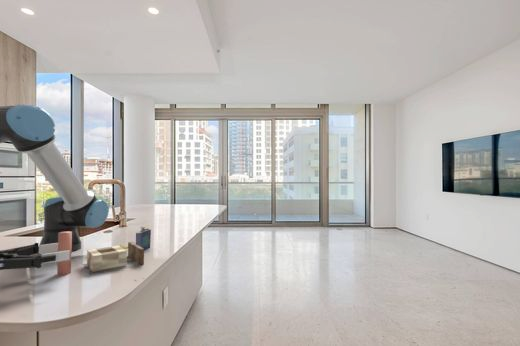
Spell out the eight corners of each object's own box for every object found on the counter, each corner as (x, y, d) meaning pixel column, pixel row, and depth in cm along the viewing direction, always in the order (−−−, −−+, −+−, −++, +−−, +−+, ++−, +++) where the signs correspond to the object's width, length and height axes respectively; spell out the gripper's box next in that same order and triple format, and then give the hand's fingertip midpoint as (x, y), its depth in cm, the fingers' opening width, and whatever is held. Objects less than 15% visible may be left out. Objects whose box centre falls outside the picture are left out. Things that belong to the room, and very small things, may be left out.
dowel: (56, 276, 85) (57, 232, 85) (69, 273, 87) (71, 230, 88) (57, 279, 82) (59, 233, 83) (71, 276, 85) (72, 232, 85)
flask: (139, 254, 110) (140, 228, 110) (132, 254, 110) (133, 228, 111) (151, 249, 119) (152, 225, 119) (145, 248, 120) (146, 224, 120)
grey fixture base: (82, 267, 94) (82, 248, 94) (131, 258, 105) (131, 241, 105) (90, 278, 84) (91, 257, 84) (143, 267, 95) (144, 248, 95)
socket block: (86, 264, 93) (87, 250, 94) (118, 258, 100) (118, 245, 100) (92, 271, 86) (93, 256, 86) (126, 265, 93) (126, 250, 93)
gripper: (-27, 266, 80) (61, 253, 94) (-40, 293, 62) (71, 272, 76) (-26, 241, 80) (62, 232, 95) (-39, 260, 62) (72, 246, 76)
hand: (66, 250), depth 85 cm, fingers open, 13 cm apart
